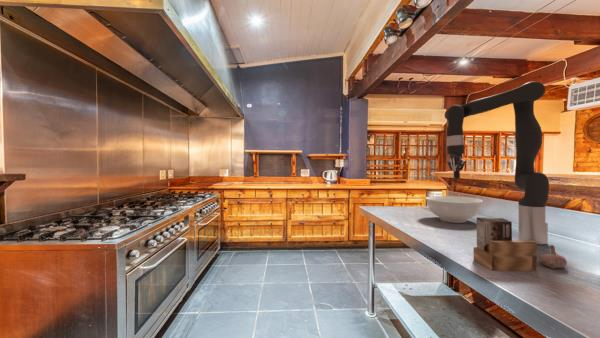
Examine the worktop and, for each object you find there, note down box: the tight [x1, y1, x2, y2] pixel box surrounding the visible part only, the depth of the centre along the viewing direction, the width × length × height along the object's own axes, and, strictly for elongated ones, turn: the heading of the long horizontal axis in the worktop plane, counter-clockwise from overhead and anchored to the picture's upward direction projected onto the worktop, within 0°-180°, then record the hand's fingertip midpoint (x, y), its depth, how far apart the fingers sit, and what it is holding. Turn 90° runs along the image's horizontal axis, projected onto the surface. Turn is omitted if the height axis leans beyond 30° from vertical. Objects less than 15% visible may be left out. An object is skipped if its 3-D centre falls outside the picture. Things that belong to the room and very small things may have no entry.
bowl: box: [425, 195, 484, 224], centre depth 159 cm, size 32×32×15 cm
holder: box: [473, 240, 538, 272], centre depth 87 cm, size 15×9×10 cm, turn 88°
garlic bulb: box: [539, 244, 568, 270], centre depth 86 cm, size 8×7×8 cm
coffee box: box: [476, 217, 513, 252], centre depth 91 cm, size 9×6×16 cm
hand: (456, 178), depth 122 cm, fingers closed
